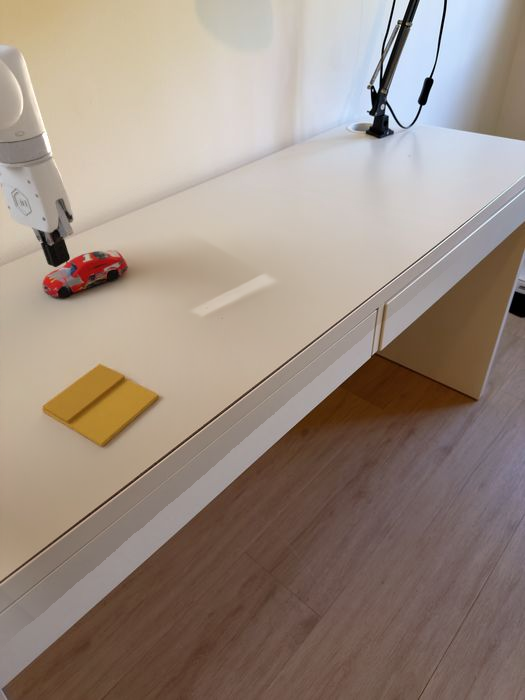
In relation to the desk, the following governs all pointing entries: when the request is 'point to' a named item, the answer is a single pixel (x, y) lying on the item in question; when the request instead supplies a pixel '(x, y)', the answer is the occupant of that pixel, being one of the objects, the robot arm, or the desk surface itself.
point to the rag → (100, 404)
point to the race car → (84, 272)
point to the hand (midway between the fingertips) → (59, 262)
